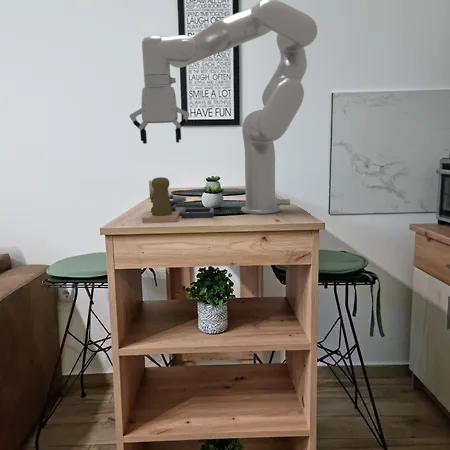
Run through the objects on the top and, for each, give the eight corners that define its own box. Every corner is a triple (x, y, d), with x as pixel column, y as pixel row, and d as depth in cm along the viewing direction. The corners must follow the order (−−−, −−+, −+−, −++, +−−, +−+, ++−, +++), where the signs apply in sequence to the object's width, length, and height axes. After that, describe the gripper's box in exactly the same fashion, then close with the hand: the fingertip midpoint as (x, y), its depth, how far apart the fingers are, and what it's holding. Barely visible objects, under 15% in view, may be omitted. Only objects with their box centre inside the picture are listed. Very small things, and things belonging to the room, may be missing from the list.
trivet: (180, 216, 143) (179, 211, 143) (177, 221, 133) (176, 216, 133) (147, 217, 143) (147, 212, 143) (142, 222, 133) (142, 217, 133)
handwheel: (149, 200, 158) (148, 179, 156) (184, 198, 159) (183, 178, 158) (150, 204, 146) (149, 182, 145) (187, 202, 148) (186, 180, 147)
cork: (168, 216, 134) (166, 178, 132) (148, 215, 136) (146, 178, 134) (175, 212, 140) (173, 176, 138) (156, 212, 142) (154, 176, 140)
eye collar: (213, 212, 149) (213, 207, 148) (213, 217, 139) (212, 212, 139) (183, 213, 148) (183, 208, 148) (181, 218, 139) (181, 213, 139)
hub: (185, 208, 158) (184, 200, 158) (183, 213, 149) (182, 204, 148) (156, 209, 158) (155, 200, 158) (152, 214, 149) (151, 205, 148)
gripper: (188, 83, 137) (191, 141, 140) (129, 85, 136) (134, 144, 139) (187, 80, 129) (190, 142, 133) (125, 82, 129) (129, 144, 132)
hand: (161, 143), depth 136 cm, fingers open, 9 cm apart
